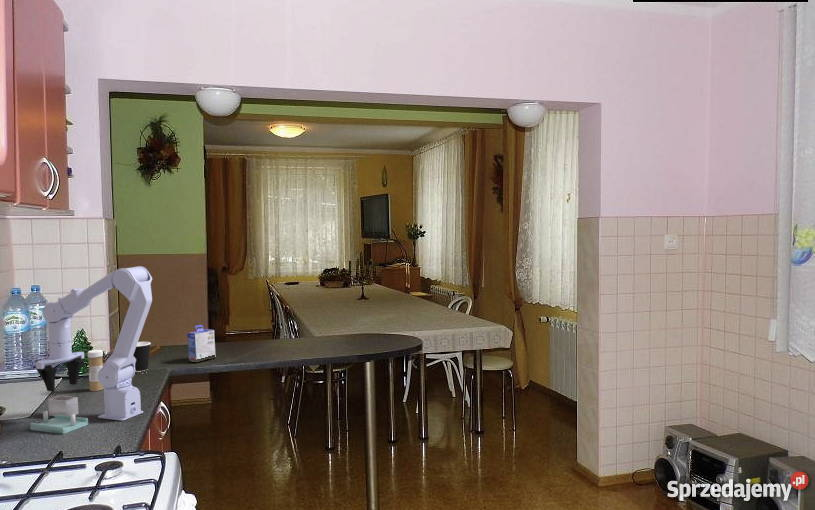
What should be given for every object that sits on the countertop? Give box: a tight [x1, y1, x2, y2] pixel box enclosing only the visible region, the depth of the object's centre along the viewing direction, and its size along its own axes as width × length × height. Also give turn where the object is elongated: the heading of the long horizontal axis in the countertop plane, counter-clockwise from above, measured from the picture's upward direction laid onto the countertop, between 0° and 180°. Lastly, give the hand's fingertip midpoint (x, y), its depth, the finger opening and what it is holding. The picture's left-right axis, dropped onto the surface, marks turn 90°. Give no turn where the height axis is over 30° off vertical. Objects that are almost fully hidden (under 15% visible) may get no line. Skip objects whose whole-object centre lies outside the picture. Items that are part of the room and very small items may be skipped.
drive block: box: [47, 395, 79, 417], centre depth 179 cm, size 7×4×5 cm, turn 70°
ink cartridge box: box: [186, 324, 216, 360], centre depth 248 cm, size 10×6×14 cm, turn 148°
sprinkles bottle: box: [87, 349, 104, 392], centre depth 206 cm, size 5×5×14 cm
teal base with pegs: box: [29, 410, 89, 435], centre depth 168 cm, size 12×8×4 cm, turn 70°
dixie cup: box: [133, 341, 152, 372], centre depth 230 cm, size 8×8×11 cm
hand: (62, 387), depth 179 cm, fingers open, 7 cm apart
